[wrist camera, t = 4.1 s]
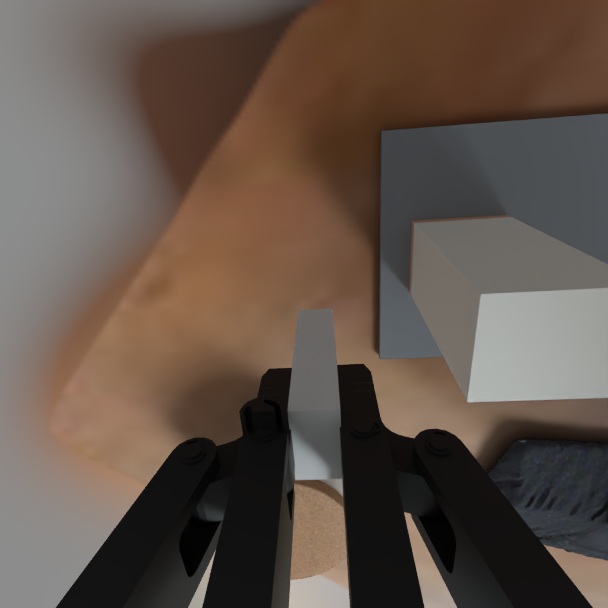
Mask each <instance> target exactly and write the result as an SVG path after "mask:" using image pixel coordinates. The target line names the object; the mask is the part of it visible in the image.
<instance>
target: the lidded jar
mask: <svg viewBox="0 0 608 608" xmlns="http://www.w3.org/2000/svg"><path fill="white" fill-rule="evenodd" d="M294 490H295V507H294V524H293V541H292V557H291V574H290V580H293V579H303V578H307V577H312V576H315V575H318V574H322V573H324V572H326V571H328V570H330V569H331V568H333V567H334V566H336V565H338V564H339V563H340V562H341V561H342V560H343V559H344V558H345V556H346V555H347V550H346V534H345V518H344V506H343V483H342V479H318V480H295V473H294Z"/></svg>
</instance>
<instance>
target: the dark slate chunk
mask: <svg viewBox="0 0 608 608" xmlns="http://www.w3.org/2000/svg"><path fill="white" fill-rule="evenodd" d="M488 475H489V477H490V478H491V479H492V481H493V482H494V483H495V484H496V486H497V487H498V488H499V489H500V491H501V492H502V493H503V495H504V496H505V497H506V498H507V500H508V501H509V502H510V503H511V505H512V506H513V507H514V508H515V510H516V511H517V512H518V514H519V515H520V516H521V517H522V519H523V520H524V521H525V522H526V524H527V525H528V526H529V527H530V529H531V530H532V531H533V533H534V534H535V535H536V536H537V538H538V539H539V540H540V541H541V543H542V544H543V545H546V546H552V547H555V548H560V549H564V550H565V551H567V552H574V553H577V554H582V555H585V556H588V557H594V558H599V559H604V560H608V443H605V444H598V442H597V443H596V442H589V443H582V442H570V441H566V440H557V441H549V440H541V439H533V440H518V441H515V442H514V443H513V444H512V445H511V447H510V448H509V450H508V451H507V452H506V453H505V454H504V456H503V457H502V458H501V459H500V460H499V461H498V462H497V464H496V465H495V467H494V468H493V469H492V470H491V471H490V472H489V473H488Z"/></svg>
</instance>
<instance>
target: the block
mask: <svg viewBox="0 0 608 608" xmlns="http://www.w3.org/2000/svg"><path fill="white" fill-rule="evenodd" d="M409 292H410V294H411V296H412V298H413V300H414V302H415V304H416V306H417V308H418V309H419V311H420V313H421V315H422V317H423V319H424V321H425V323H426V325H427V327H428V329H429V330H430V332H431V334H432V336H433V338H434V340H435V342H436V344H437V346H438V348H439V350H440V351H441V353H442V355H443V357H444V359H445V361H446V363H447V365H448V367H449V369H450V371H451V372H452V374H453V376H454V378H455V380H456V382H457V384H458V386H459V388H460V390H461V392H462V393H463V395H464V397H465V399H466V401H467V402H493V401H524V400H555V399H587V398H608V264H606V263H604V262H602V261H600V260H598V259H596V258H594V257H592V256H590V255H588V254H586V253H584V252H582V251H580V250H578V249H576V248H574V247H572V246H570V245H568V244H565V243H563V242H561V241H559V240H557V239H555V238H553V237H551V236H549V235H547V234H545V233H543V232H541V231H539V230H537V229H535V228H533V227H531V226H529V225H527V224H525V223H523V222H521V221H519V220H517V219H515V218H513V217H511V216H509V215H500V216H484V217H468V218H452V219H435V220H419V221H412V239H411V262H410V285H409Z"/></svg>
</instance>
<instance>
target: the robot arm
mask: <svg viewBox="0 0 608 608" xmlns="http://www.w3.org/2000/svg"><path fill="white" fill-rule="evenodd" d="M239 413H240V418H241V424H242V429H243V436H242V437H240V438H239V439H237V440H235V441H232V442H230V443H226V444H223V445H219V446H216V445H215V443H214V442H213V441H212V440H210V439H207V438H193V439H189V440H186V441H185V442H183V443H181V444H179V445H178V446H177V447H176V448H175V449H174V450H173V451H172V452H171V454H170V455H169V456H168V458H167V459H166V460H165V462H164V463H163V465H162V466H161V467H160V469H159V470H158V471H157V473H156V474H155V475H154V477H153V478H152V479H151V481H150V482H149V483H148V485H147V486H146V487H145V489H144V490H143V491H142V493H141V494H140V496H139V497H138V498H137V500H136V501H135V502H134V504H133V505H132V506H131V508H130V509H129V510H128V511H127V513H126V515H125V516H124V517H123V518H122V520H121V521H120V522H119V524H118V525H117V526H116V528H115V529H114V530H113V532H112V533H111V534H110V536H109V537H108V538H107V540H106V541H105V542H104V544H103V545H102V546H101V548H100V549H99V551H98V552H97V553H96V554H95V556H94V557H93V558H92V560H91V561H90V563H89V564H88V565H87V567H86V568H85V569H84V571H83V572H82V573H81V575H80V576H79V577H78V579H77V580H76V581H75V583H74V584H73V585H72V587H71V588H70V589H69V591H68V592H67V593H66V595H65V596H64V597H63V599H62V600H61V601H60V603H59V604H58V606H57V607H56V608H188V606H189V604H190V602H191V600H192V598H193V596H194V594H195V592H196V590H197V588H198V585H199V583H200V581H201V579H202V577H203V575H204V573H205V571H206V569H207V567H208V565H209V562H210V560H211V558H212V556H213V554H214V552H215V550H216V552H215V556H214V560H213V565H212V569H211V573H210V578H209V582H208V586H207V591H206V594H205V599H204V603H203V607H202V608H289V607H288V606H289V591H290V574H291V557H292V541H293V524H294V507H295V490H294V473H295V480H318V479H342V483H343V506H344V518H345V534H346V550H347V566H348V582H349V596H350V597H349V598H350V608H424V603H423V599H422V594H421V590H420V585H419V580H418V576H417V571H416V566H415V562H414V557H413V552H412V548H411V543H410V538H409V534H408V529H407V525H406V520H405V515H404V512H407V513H410V514H411V516H412V519H413V521H414V523H415V525H416V527H417V529H418V531H419V533H420V535H421V537H422V539H423V541H424V543H425V544H426V546H427V548H428V550H429V552H430V554H431V556H432V558H433V560H434V562H435V564H436V566H437V568H438V570H439V572H440V574H441V576H442V578H443V580H444V582H445V584H446V586H447V588H448V590H449V592H450V594H451V596H452V598H453V600H454V602H455V604H456V606H457V608H593V607H592V606H591V605H590V604H589V602H588V601H587V600H586V598H585V597H584V596H583V595H582V593H581V592H580V591H579V590H578V588H577V587H576V586H575V585H574V583H573V582H572V581H571V579H570V578H569V577H568V576H567V574H566V573H565V572H564V571H563V569H562V568H561V567H560V566H559V564H558V563H557V562H556V560H555V559H554V558H553V557H552V555H551V554H550V553H549V552H548V550H547V549H546V548H545V546H544V545H543V544H542V543H541V541H540V540H539V539H538V538H537V536H536V535H535V534H534V533H533V531H532V530H531V529H530V527H529V526H528V525H527V524H526V522H525V521H524V520H523V519H522V517H521V516H520V515H519V514H518V512H517V511H516V510H515V508H514V507H513V506H512V505H511V503H510V502H509V501H508V500H507V498H506V497H505V496H504V495H503V493H502V492H501V491H500V489H499V488H498V487H497V486H496V484H495V483H494V482H493V481H492V479H491V478H490V477H489V475H488V474H487V473H486V472H485V470H484V469H483V468H482V467H481V465H480V464H479V463H478V462H477V460H476V459H475V458H474V456H473V455H472V454H471V453H470V451H469V450H468V449H467V448H466V446H465V445H464V444H463V443H462V441H461V440H460V439H458V438H457V437H456V436H455V435H454V434H451V433H449V432H447V431H445V430H440V429H427V430H424V431H422V432H420V433H419V434H418V435H417V436H416V437H415V439H414V438H409V437H405V436H401V435H398V434H395V433H394V432H392V431H390V430H389V429H387V428H386V427H385V426H384V424H383V423H382V421H381V418H380V413H379V409H378V404H377V399H376V394H375V391H374V385H373V380H372V375H371V371H370V370H369V369H368V368H367V367H366V366H365V365H364V364H349V365H337V359H336V345H335V332H334V319H333V308H330V309H311V310H298V317H297V327H296V336H295V345H294V355H293V364H292V368H277V369H268V371H267V372H266V373H265V374H264V375H263V376H262V378H261V383H260V388H259V392H258V396H257V398H255V399H253V400H251V401H248V402H247V403H246V404H245V405H244V406H242V408H241V410H240V412H239Z"/></svg>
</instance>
